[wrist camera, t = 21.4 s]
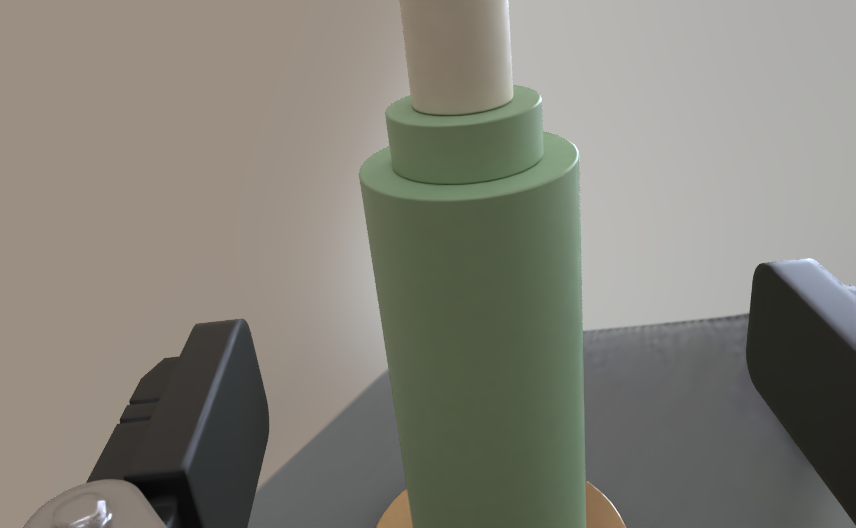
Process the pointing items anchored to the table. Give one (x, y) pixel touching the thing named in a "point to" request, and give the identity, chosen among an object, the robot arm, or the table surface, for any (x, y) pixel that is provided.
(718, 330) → the table surface
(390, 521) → the coaster
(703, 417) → the table surface
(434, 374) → the bottle
